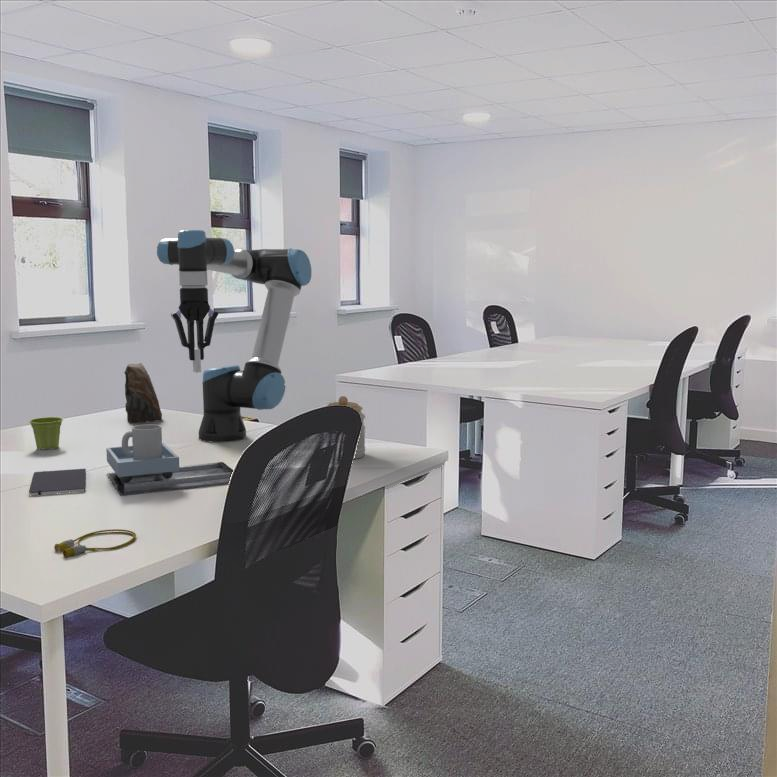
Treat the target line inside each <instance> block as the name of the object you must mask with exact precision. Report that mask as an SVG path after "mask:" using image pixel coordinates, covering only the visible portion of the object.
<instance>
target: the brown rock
mask: <svg viewBox="0 0 777 777" xmlns="http://www.w3.org/2000/svg"><path fill="white" fill-rule="evenodd" d="M123 373H124V375H125V383H124V394H125V401H126V402H125V411H126V415H127V416H126V419H127V420H126V422H128V423H131V424H139V423H138V422H140V423H147V422H146V421H149V422H156V421H155V420H159V421H162V420H163V418H162V417H163V413H162V411H161V407H160V403H159V399H158V396H157V393H156V390H155V388H154V384H153V382H152V380H151V377H150V375H149V373H148V370H147V369H146V368H145V366H144V364H142V363H141V362H140V363H136V364H135V363H129V364H127V366H126V368H125V371H124V372H123ZM161 419H162V420H161Z"/></svg>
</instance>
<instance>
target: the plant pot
mask: <svg viewBox="0 0 777 777" xmlns="http://www.w3.org/2000/svg"><path fill="white" fill-rule="evenodd" d="M63 420H64V419H63V417H57V416H55V417H53V416H49V417H48V416H46V417H38V418H33V419H30V420H28V423H29V424H30V426H31V428H32V431H33V436H34V440H35V444H36V449H38V450H39V449H40V451H41V450H46V451H49V450H55V449H57V448H59V446H60V435H61V426H62V422H63Z"/></svg>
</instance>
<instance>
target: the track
mask: <svg viewBox="0 0 777 777" xmlns="http://www.w3.org/2000/svg"><path fill="white" fill-rule="evenodd" d="M233 470H234V469H232V468H231V467H230V466H229V465H227V463H225V462H223V461H219V462H211V463H210V462H209V463H198V464H190V465H179V471H174V472H172V473H173V475H172V477H171V478H169V479H166V478H164V477H163V475H162V473H154V474H144V475H134V476H131V477H132V478H131V481H130V482H128V483H124V482H123V481H122V480H121V477H118V476H117V474H116V473H115V472H107V473H106V477H107V476H108V477H107V479H108V478H109V479H110V480H109V479H108V480H109V481H111V482H112V483H111V482H110V483H111V485H112V484H113V485H112V486H113V488H114V487H115V488H114V489H115V490H117V491H116V492H117V493H118V495H119V496H120V497H123V496H135V495H142V494H151V493H162V492H170V491H179V490H189V489H196V488H205V487H214V486H225V485H229V484H228V483H229V481H230V477H231V474H232V472H233Z"/></svg>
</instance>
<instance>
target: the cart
mask: <svg viewBox="0 0 777 777" xmlns="http://www.w3.org/2000/svg"><path fill="white" fill-rule="evenodd" d="M128 447H129V450H130V451H133V445H128ZM105 451H106V462H107V463H108V464H109V466H110V467H111V470H113V471H114V472H113V473H116V474H117V476H118V477H121V480H122V481H123V482H124V483H128V482H130V481H131V478H132V477H131V476H134V475H144V474H154V473H162V475H163V477H164V478H166V479H169V478H171V477H172V475H173V473H172V472H174V471H179V466H180V456H178V455H177V454H176V453H175V452H174V451H173V450H172V448H170V447H169V446H167V445H166V444H165V443H164V442H162V458H157V459H147V460H136V461H133V457H129V456H127V455H126V454H125V453H124V451H123V449H122V446H113V447H112V446H110V447H106V450H105Z"/></svg>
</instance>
